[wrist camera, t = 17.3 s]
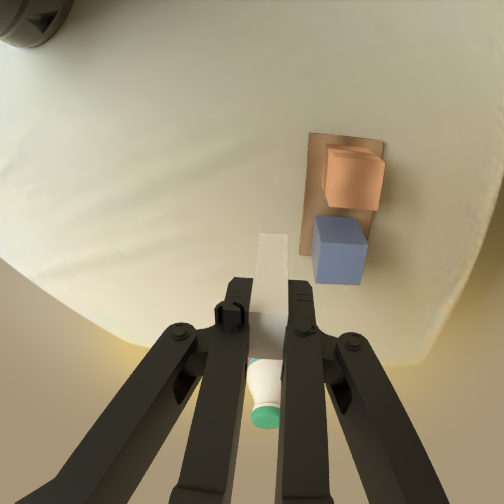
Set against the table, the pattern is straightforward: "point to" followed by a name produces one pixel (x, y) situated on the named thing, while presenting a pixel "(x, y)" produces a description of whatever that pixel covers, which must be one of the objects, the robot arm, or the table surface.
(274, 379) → the milk bottle
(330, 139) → the organizer
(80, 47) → the table surface
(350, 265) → the slate blue cube
